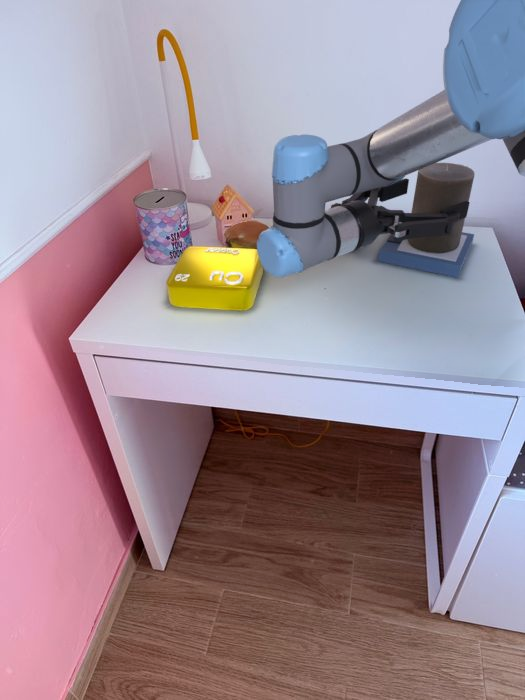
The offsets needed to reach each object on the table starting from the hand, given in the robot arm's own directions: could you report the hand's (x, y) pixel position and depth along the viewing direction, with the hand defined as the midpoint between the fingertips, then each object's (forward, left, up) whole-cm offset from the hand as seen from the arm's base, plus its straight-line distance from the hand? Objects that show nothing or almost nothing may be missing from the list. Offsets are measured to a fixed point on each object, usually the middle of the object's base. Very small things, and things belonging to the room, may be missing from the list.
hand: (435, 196), depth 93 cm
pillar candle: (-1, -2, -10) cm, 10 cm away
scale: (0, -2, -12) cm, 13 cm away
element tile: (+31, +26, -13) cm, 42 cm away
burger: (+33, +10, -13) cm, 37 cm away
